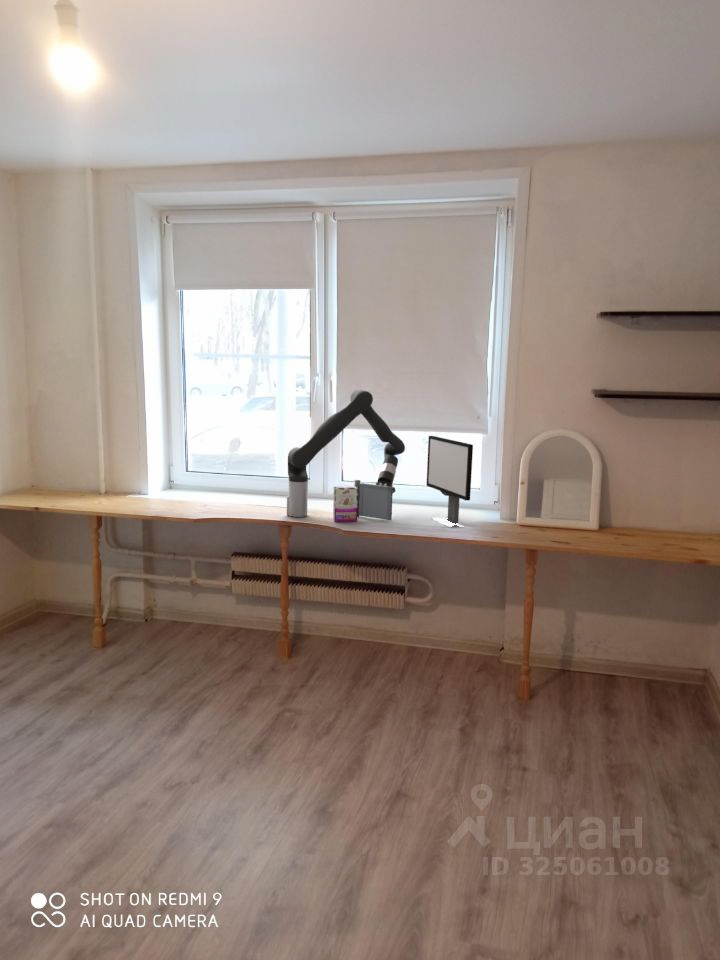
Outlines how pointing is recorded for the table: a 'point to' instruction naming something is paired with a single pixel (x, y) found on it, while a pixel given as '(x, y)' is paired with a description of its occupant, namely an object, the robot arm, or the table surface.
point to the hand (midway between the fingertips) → (378, 503)
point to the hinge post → (357, 484)
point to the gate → (376, 501)
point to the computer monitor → (450, 471)
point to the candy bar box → (345, 504)
